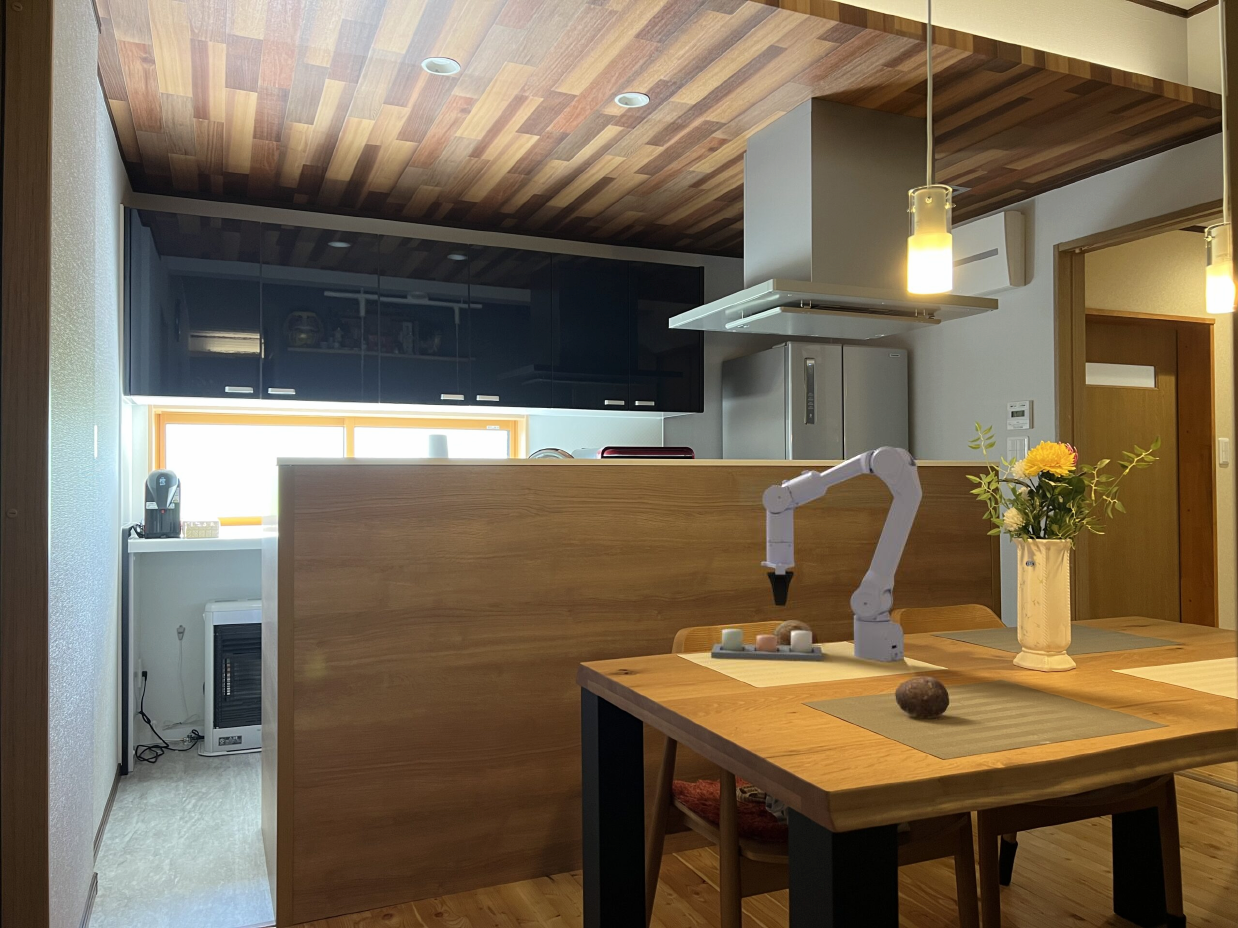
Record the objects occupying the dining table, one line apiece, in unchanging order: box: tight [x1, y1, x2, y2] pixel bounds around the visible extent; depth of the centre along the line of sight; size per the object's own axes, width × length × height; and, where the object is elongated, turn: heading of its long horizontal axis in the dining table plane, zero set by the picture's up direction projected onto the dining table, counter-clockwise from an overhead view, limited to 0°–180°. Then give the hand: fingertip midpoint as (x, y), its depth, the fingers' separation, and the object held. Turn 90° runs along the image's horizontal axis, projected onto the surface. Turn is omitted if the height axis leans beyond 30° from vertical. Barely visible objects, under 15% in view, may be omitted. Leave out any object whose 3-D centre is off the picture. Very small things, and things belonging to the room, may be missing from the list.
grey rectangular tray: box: [710, 643, 824, 662], centre depth 192 cm, size 22×10×2 cm, turn 80°
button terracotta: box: [755, 634, 778, 652], centre depth 192 cm, size 4×4×5 cm
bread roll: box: [772, 619, 819, 646], centre depth 209 cm, size 10×10×8 cm
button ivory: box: [790, 631, 813, 653], centre depth 191 cm, size 4×4×5 cm
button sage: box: [721, 628, 744, 651], centre depth 194 cm, size 4×4×5 cm
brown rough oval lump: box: [894, 675, 950, 719], centre depth 148 cm, size 8×8×6 cm
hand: (780, 605), depth 201 cm, fingers closed
